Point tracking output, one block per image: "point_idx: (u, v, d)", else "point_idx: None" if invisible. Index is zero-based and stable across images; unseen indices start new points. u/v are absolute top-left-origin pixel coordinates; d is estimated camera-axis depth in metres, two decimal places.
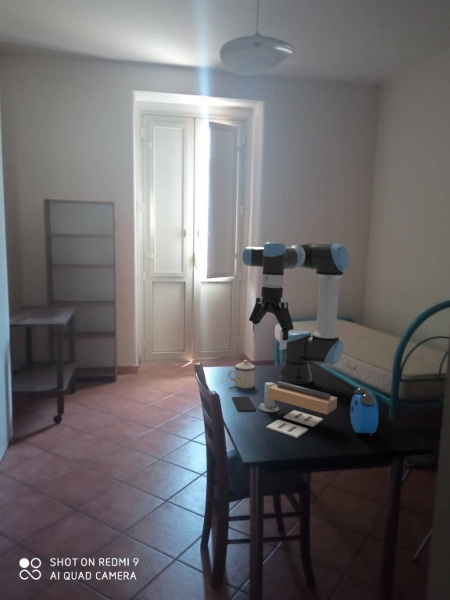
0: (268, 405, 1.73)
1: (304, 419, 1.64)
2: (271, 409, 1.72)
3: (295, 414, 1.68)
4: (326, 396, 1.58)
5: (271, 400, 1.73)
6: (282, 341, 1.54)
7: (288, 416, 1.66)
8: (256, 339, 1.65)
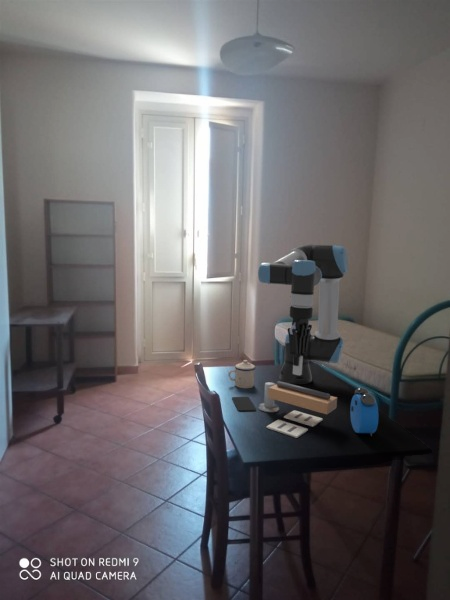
0: (268, 405, 1.73)
1: (304, 419, 1.64)
2: (271, 409, 1.72)
3: (295, 414, 1.68)
4: (326, 396, 1.58)
5: (271, 400, 1.73)
6: (294, 366, 1.52)
7: (288, 416, 1.66)
8: None
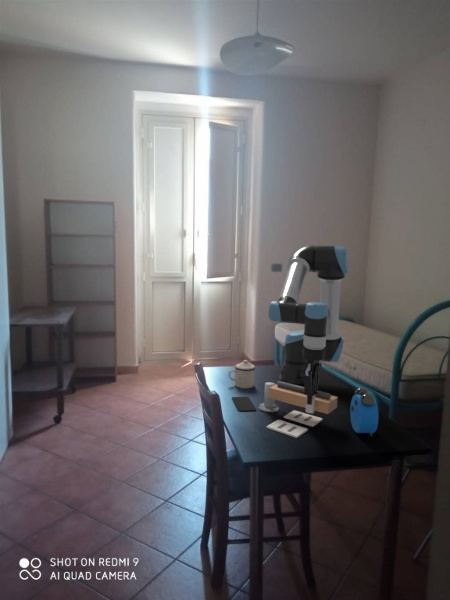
0: (268, 405, 1.73)
1: (304, 419, 1.64)
2: (271, 409, 1.72)
3: (295, 414, 1.68)
4: (327, 396, 1.59)
5: (271, 400, 1.73)
6: (307, 404, 1.57)
7: (288, 416, 1.66)
8: None
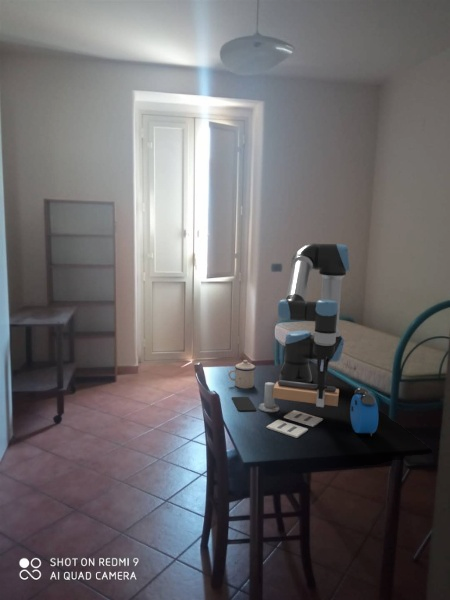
0: (270, 405, 1.73)
1: (304, 419, 1.64)
2: (271, 409, 1.72)
3: (295, 414, 1.68)
4: (333, 389, 1.66)
5: (273, 400, 1.73)
6: (318, 399, 1.62)
7: (288, 416, 1.66)
8: None
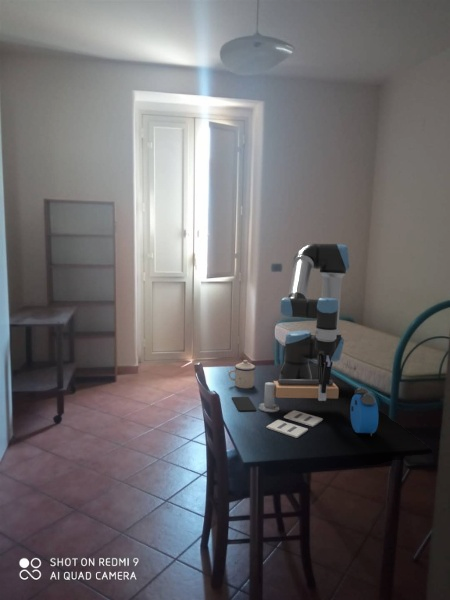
0: (272, 405, 1.73)
1: (304, 419, 1.64)
2: (271, 409, 1.72)
3: (295, 414, 1.68)
4: (331, 382, 1.74)
5: (273, 399, 1.73)
6: (320, 393, 1.68)
7: (288, 416, 1.66)
8: None
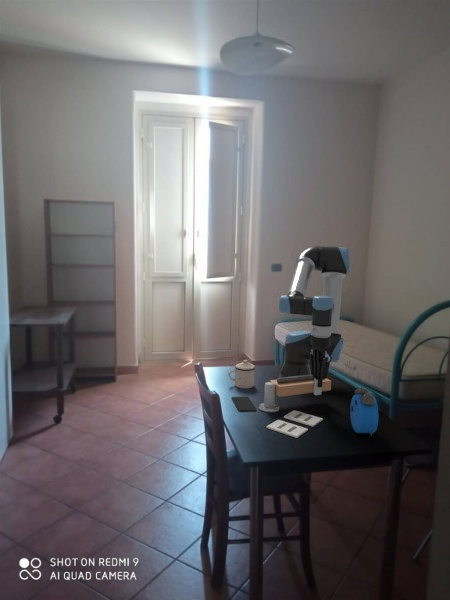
0: (273, 404, 1.74)
1: (304, 419, 1.64)
2: (271, 409, 1.72)
3: (295, 414, 1.68)
4: None
5: None
6: (317, 388, 1.75)
7: (288, 416, 1.66)
8: None
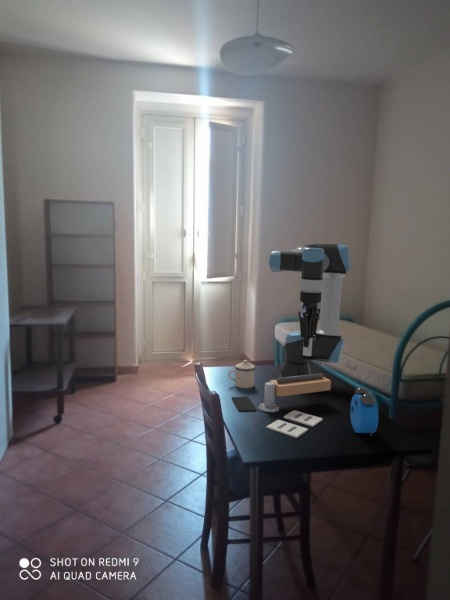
0: (273, 404, 1.74)
1: (304, 419, 1.64)
2: (271, 409, 1.72)
3: (295, 414, 1.68)
4: (322, 375, 1.82)
5: None
6: (304, 347, 1.62)
7: (288, 416, 1.66)
8: None
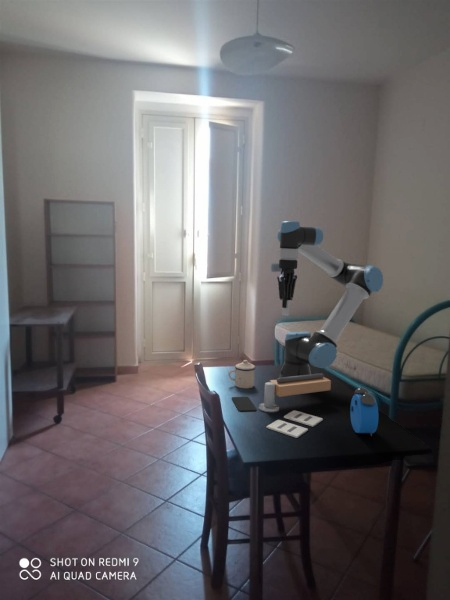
0: (273, 404, 1.74)
1: (304, 419, 1.64)
2: (271, 409, 1.72)
3: (295, 414, 1.68)
4: (322, 375, 1.82)
5: None
6: (283, 308, 1.87)
7: (288, 416, 1.66)
8: None
